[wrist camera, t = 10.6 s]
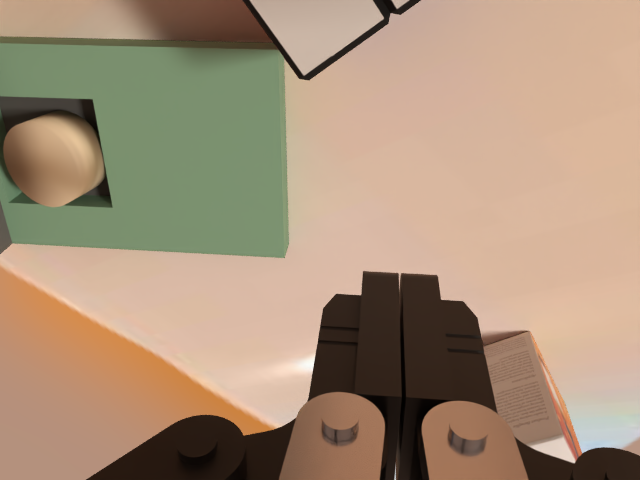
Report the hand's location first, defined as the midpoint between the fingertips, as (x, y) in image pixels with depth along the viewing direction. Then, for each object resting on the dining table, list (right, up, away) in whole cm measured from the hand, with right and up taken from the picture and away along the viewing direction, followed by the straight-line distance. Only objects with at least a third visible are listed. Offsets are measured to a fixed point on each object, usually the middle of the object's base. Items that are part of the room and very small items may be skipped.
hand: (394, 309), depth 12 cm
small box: (+14, -9, +35) cm, 39 cm away
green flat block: (-14, +8, +28) cm, 33 cm away
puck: (-18, +7, +28) cm, 34 cm away
